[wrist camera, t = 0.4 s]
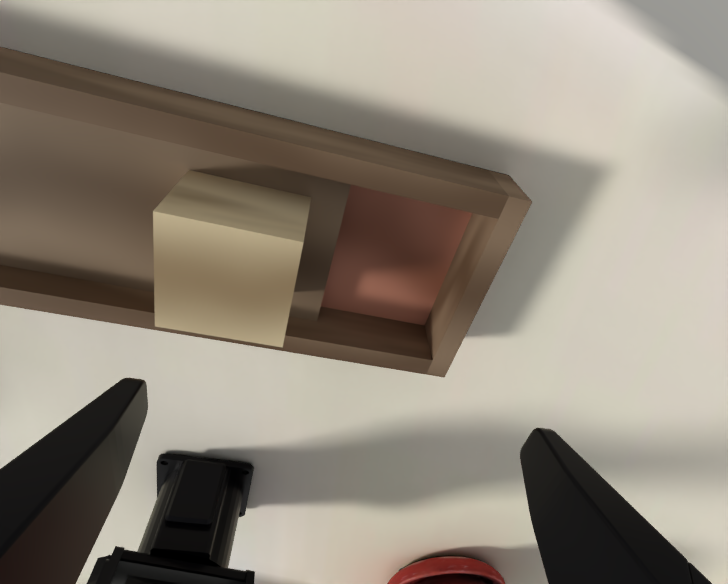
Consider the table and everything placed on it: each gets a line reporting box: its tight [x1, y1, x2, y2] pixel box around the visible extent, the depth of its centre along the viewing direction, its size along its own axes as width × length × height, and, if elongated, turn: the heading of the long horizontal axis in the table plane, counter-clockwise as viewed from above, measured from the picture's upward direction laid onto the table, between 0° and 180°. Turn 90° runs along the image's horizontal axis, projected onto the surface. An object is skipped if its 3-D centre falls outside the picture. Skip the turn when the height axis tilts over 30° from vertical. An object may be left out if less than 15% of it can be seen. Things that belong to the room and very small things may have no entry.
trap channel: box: [0, 47, 532, 377], centre depth 18 cm, size 10×37×3 cm, turn 76°
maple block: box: [153, 170, 311, 348], centre depth 18 cm, size 5×5×4 cm
